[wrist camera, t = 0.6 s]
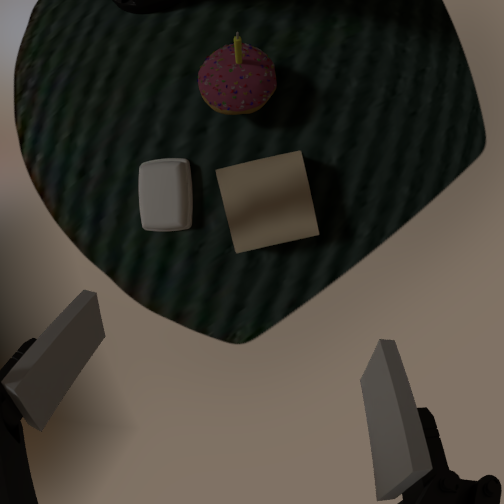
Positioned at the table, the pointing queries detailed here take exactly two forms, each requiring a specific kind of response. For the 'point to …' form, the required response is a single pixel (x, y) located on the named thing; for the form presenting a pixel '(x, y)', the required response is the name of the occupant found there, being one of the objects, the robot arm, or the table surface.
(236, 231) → the pedestal
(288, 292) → the table surface
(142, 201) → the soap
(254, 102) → the cupcake
